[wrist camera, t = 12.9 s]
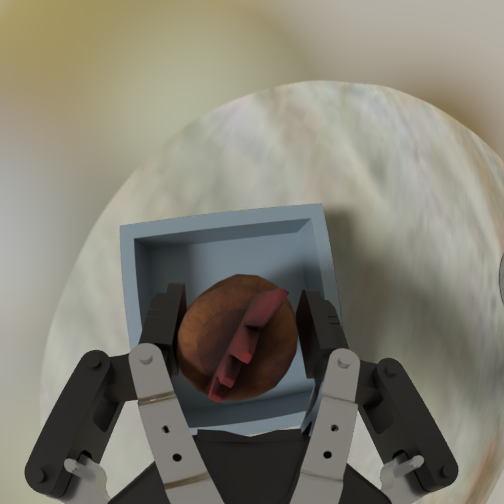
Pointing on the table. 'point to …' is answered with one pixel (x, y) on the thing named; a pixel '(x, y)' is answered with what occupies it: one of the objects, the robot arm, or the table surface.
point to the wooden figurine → (237, 338)
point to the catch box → (219, 268)
